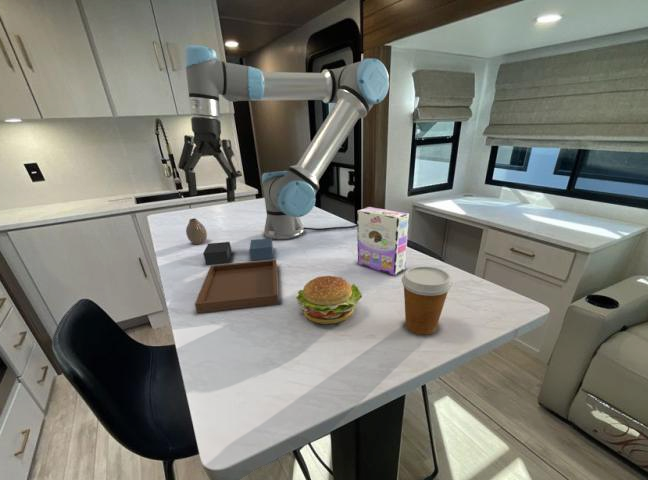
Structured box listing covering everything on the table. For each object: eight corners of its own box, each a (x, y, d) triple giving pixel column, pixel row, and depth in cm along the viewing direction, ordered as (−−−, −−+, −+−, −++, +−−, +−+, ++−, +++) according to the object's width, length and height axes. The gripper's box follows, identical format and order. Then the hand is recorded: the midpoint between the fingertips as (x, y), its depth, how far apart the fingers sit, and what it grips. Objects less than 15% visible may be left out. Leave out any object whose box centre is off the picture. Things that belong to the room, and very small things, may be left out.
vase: (209, 243, 118) (204, 220, 114) (189, 246, 115) (183, 223, 111) (207, 238, 123) (202, 215, 119) (188, 241, 121) (182, 218, 117)
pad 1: (231, 252, 109) (229, 241, 107) (229, 262, 101) (226, 251, 99) (210, 254, 108) (208, 243, 106) (206, 265, 100) (203, 253, 98)
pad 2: (273, 249, 111) (271, 238, 109) (273, 258, 103) (271, 247, 101) (252, 251, 110) (250, 239, 108) (251, 260, 102) (249, 249, 100)
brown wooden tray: (277, 266, 97) (276, 259, 96) (278, 304, 78) (277, 295, 76) (212, 273, 95) (210, 265, 93) (197, 313, 75) (194, 304, 74)
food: (313, 336, 66) (310, 303, 62) (291, 305, 77) (288, 275, 73) (370, 319, 70) (371, 287, 66) (342, 292, 82) (342, 263, 78)
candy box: (405, 269, 93) (410, 212, 85) (394, 276, 89) (398, 217, 81) (368, 258, 101) (369, 205, 93) (356, 263, 97) (356, 209, 89)
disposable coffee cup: (415, 344, 62) (422, 290, 56) (389, 320, 70) (392, 270, 64) (454, 332, 65) (464, 279, 59) (425, 310, 73) (431, 262, 67)
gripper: (158, 112, 87) (168, 193, 96) (237, 119, 80) (240, 205, 90) (178, 115, 93) (186, 191, 103) (253, 122, 87) (254, 202, 96)
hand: (211, 198), depth 96 cm, fingers open, 13 cm apart
